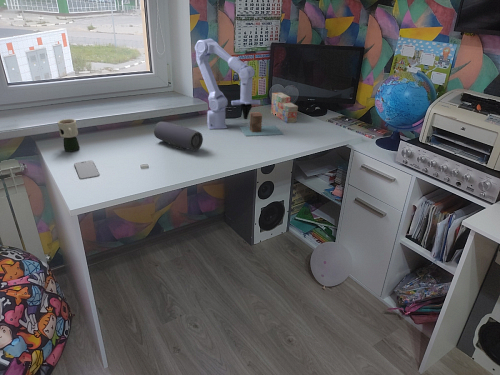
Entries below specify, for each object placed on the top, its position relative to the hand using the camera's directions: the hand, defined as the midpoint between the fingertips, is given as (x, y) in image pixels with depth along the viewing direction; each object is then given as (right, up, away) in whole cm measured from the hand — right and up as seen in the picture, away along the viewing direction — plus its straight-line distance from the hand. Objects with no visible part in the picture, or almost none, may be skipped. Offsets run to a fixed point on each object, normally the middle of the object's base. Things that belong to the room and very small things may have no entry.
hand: (245, 118), depth 192 cm
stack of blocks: (+22, +6, +29) cm, 37 cm away
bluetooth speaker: (-31, -16, -18) cm, 39 cm away
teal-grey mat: (+8, -6, +5) cm, 11 cm away
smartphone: (-62, -29, -45) cm, 82 cm away
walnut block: (+5, -5, +4) cm, 9 cm away
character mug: (-76, -19, -27) cm, 83 cm away
